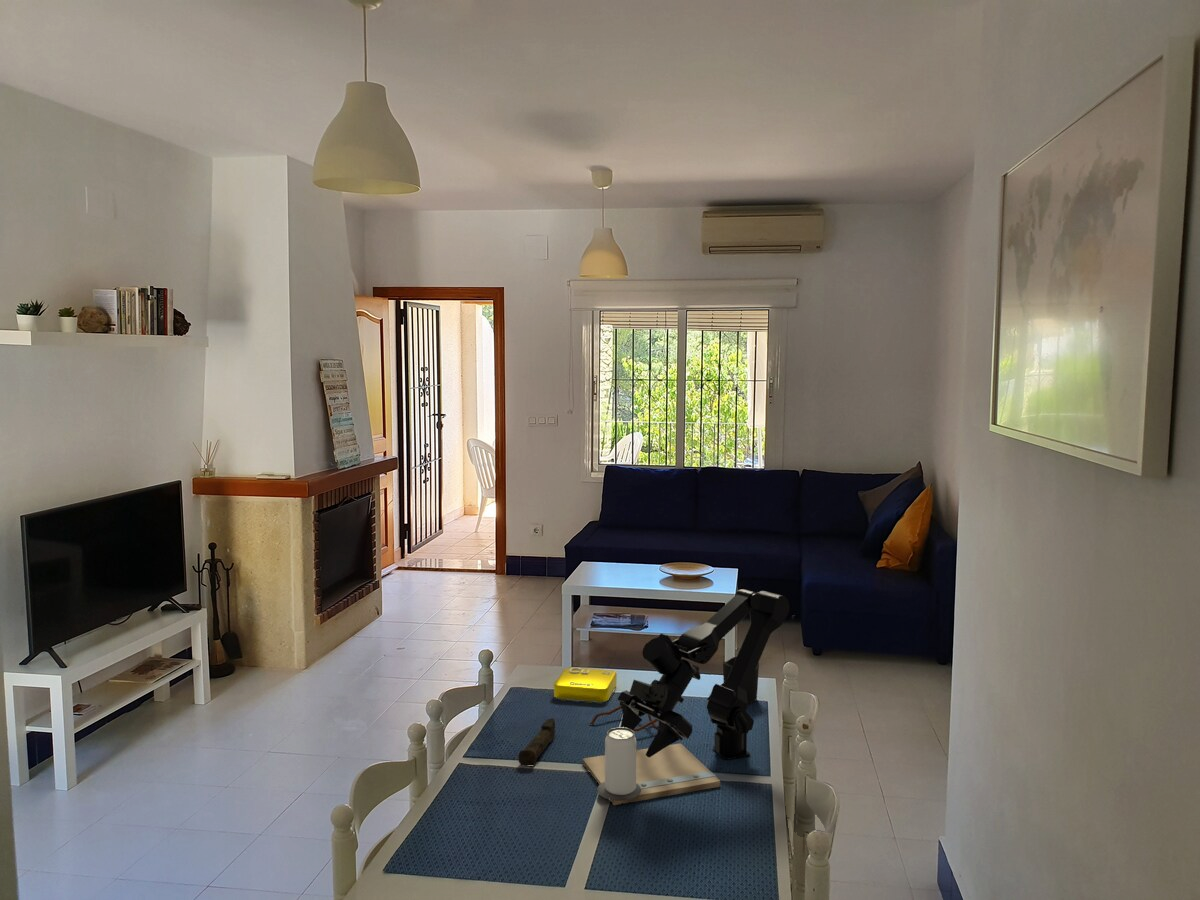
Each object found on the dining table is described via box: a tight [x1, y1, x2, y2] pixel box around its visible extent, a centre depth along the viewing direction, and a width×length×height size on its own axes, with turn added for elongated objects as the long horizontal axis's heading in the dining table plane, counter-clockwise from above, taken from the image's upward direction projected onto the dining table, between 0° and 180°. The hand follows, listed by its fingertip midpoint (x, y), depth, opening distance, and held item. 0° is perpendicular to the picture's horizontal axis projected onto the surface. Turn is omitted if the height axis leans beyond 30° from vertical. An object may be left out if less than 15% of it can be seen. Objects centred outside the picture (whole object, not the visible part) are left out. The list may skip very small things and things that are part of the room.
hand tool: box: [518, 717, 556, 766], centre depth 205 cm, size 19×4×5 cm, turn 162°
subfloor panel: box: [582, 742, 721, 806], centre depth 191 cm, size 26×21×1 cm
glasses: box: [589, 705, 660, 733], centre depth 217 cm, size 13×13×5 cm
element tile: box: [553, 667, 618, 702], centre depth 241 cm, size 15×15×5 cm
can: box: [604, 726, 637, 795], centre depth 182 cm, size 6×6×12 cm
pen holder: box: [722, 656, 760, 705], centre depth 236 cm, size 9×9×10 cm
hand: (632, 748), depth 184 cm, fingers open, 9 cm apart
